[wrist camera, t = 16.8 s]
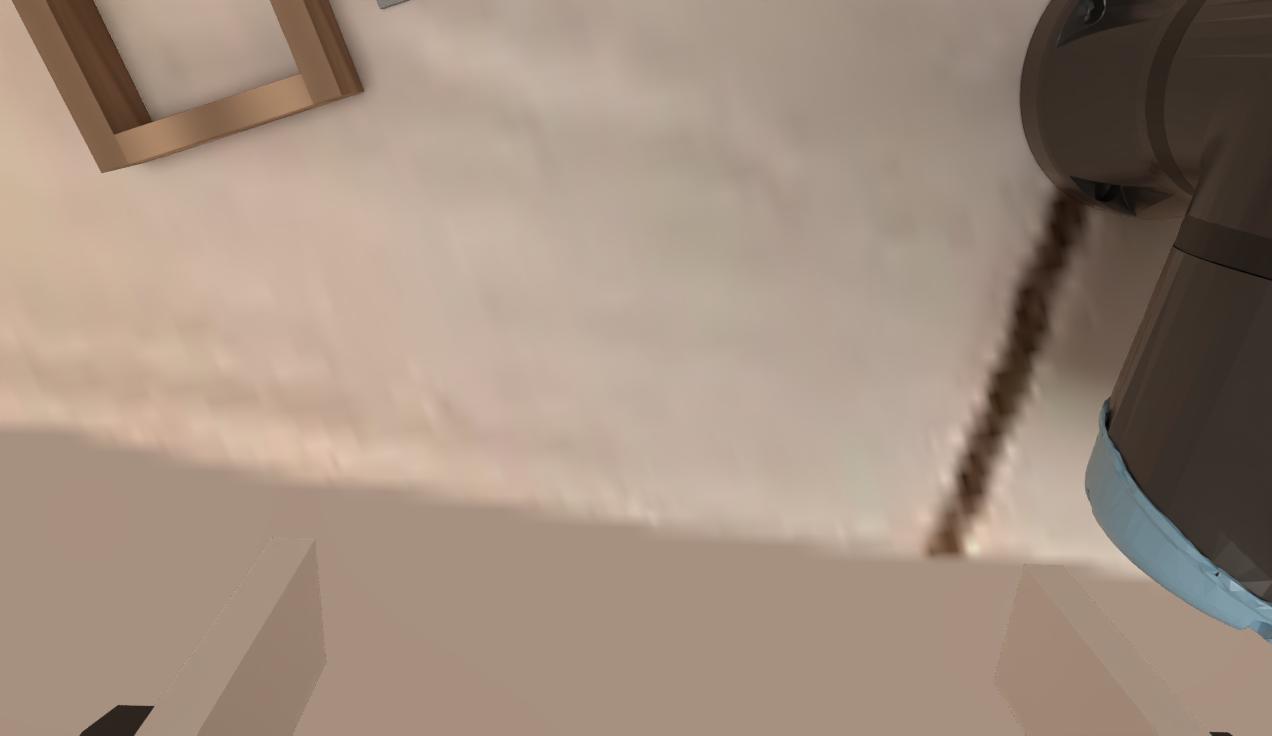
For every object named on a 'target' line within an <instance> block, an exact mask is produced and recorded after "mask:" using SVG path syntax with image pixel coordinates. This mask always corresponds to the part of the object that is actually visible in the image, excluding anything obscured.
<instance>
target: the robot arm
mask: <svg viewBox="0 0 1272 736" xmlns="http://www.w3.org/2000/svg"><path fill="white" fill-rule="evenodd" d="M1021 112H1022V120H1023V126H1024V130H1025V134H1026V137H1027V140H1028V143H1029V146H1030V148H1031V151H1032V153H1033V155H1034V157H1035V159H1036V161H1037V162H1038V164H1039V165H1040V167H1041V168H1042V170H1043V171H1044V173H1045V174H1046V175H1047V176H1048V178H1049V179H1050V180H1051V181H1052V182H1053V183H1054V184H1055V185H1056V186H1057V187H1059V188H1060V189H1061V190H1062V191H1063V192H1065V193H1066V194H1068V195H1069V196H1071V197H1072V198H1074V199H1076V200H1077V201H1080V202H1082V203H1084V204H1086V205H1089V206H1091V207H1094V208H1097V209H1100V210H1103V211H1106V212H1109V213H1113V214H1116V215H1120V216H1125V217H1130V218H1138V219H1166V218H1175V217H1180V216H1185V218H1184V220H1183V223H1182V225H1181V228H1180V230H1179V233H1178V235H1177V238H1176V240H1175V242H1174V244H1173V246H1172V249H1171V251H1170V254H1169V256H1168V258H1167V261H1166V263H1165V266H1164V268H1163V271H1162V273H1161V275H1160V278H1159V280H1158V283H1157V285H1156V288H1155V290H1154V293H1153V295H1152V297H1151V300H1150V302H1149V305H1148V307H1147V310H1146V312H1145V314H1144V317H1143V319H1142V322H1141V324H1140V327H1139V329H1138V331H1137V334H1136V336H1135V339H1134V341H1133V344H1132V346H1131V348H1130V351H1129V353H1128V356H1127V358H1126V361H1125V363H1124V366H1123V368H1122V370H1121V373H1120V375H1119V378H1118V380H1117V383H1116V385H1115V387H1114V390H1113V392H1112V395H1111V396H1110V397H1109V398H1108V399H1107V400H1106V401H1105V402H1104V404H1103V406H1102V409H1101V412H1100V418H1099V427H1100V430H1099V433H1098V436H1097V439H1096V442H1095V445H1094V448H1093V451H1092V454H1091V457H1090V460H1089V463H1088V466H1087V469H1086V474H1085V491H1086V494H1087V497H1088V499H1089V501H1090V504H1091V506H1092V512H1093V515H1094V517H1095V519H1096V520H1097V522H1098V524H1099V525H1100V527H1101V528H1102V529H1103V531H1104V532H1105V534H1106V535H1107V536H1108V538H1109V539H1110V540H1111V541H1112V542H1113V543H1114V545H1115V546H1116V547H1117V548H1118V549H1119V550H1120V551H1121V552H1122V553H1123V554H1124V555H1125V556H1126V557H1127V558H1128V559H1129V560H1130V561H1131V562H1132V563H1134V564H1135V565H1136V566H1137V567H1138V568H1139V569H1141V570H1142V571H1143V572H1144V573H1145V574H1147V575H1148V576H1149V577H1150V578H1152V579H1153V580H1154V581H1156V582H1157V583H1158V584H1160V585H1161V586H1162V587H1164V588H1165V589H1166V590H1168V591H1169V592H1171V593H1173V594H1174V595H1175V596H1177V597H1178V598H1180V599H1181V600H1183V601H1184V602H1186V603H1188V604H1189V605H1191V606H1193V607H1194V608H1196V609H1198V610H1199V611H1201V612H1203V613H1205V614H1207V615H1208V616H1210V617H1212V618H1214V619H1216V620H1218V621H1220V622H1222V623H1224V624H1226V625H1228V626H1231V627H1233V628H1235V629H1237V630H1243V629H1246V628H1248V627H1250V628H1251V629H1252V630H1254V631H1255V632H1257V633H1258V634H1259V635H1260V636H1261V637H1263V638H1264V639H1265V640H1266V641H1268V642H1270V643H1272V0H1052V1H1051V3H1050V4H1049V6H1048V7H1047V9H1046V11H1045V13H1044V14H1043V16H1042V18H1041V20H1040V22H1039V24H1038V26H1037V28H1036V30H1035V33H1034V35H1033V38H1032V40H1031V43H1030V46H1029V49H1028V52H1027V56H1026V60H1025V64H1024V69H1023V75H1022V83H1021ZM325 664H326V653H325V642H324V631H323V619H322V608H321V597H320V586H319V575H318V563H317V552H316V540H315V539H300V538H274V537H273V538H272V539H271V540H270V542H269V543H268V545H267V546H266V547H265V549H264V550H263V552H262V553H261V554H260V556H259V558H258V559H257V560H256V562H255V563H254V565H253V566H252V568H251V569H250V570H249V572H248V573H247V575H246V576H245V577H244V579H243V581H242V582H241V583H240V585H239V586H238V587H237V589H236V590H235V592H234V593H233V595H232V596H231V598H230V599H229V600H228V602H227V603H226V605H225V606H224V608H223V609H222V610H221V612H220V613H219V615H218V616H217V618H216V619H215V621H214V622H213V623H212V625H211V626H210V628H209V629H208V631H207V632H206V633H205V635H204V636H203V638H202V639H201V641H200V642H199V643H198V645H197V646H196V648H195V650H194V651H193V652H192V654H191V655H190V656H189V658H188V659H187V661H186V662H185V664H184V665H183V666H182V668H181V669H180V671H179V672H178V674H177V675H176V676H175V678H174V679H173V681H172V682H171V684H170V685H169V687H168V688H167V689H166V691H165V692H164V694H163V695H162V697H161V698H160V699H159V701H158V702H157V704H156V705H155V706H127V705H118V706H116V707H115V708H114V709H112V710H111V711H110V712H108V713H107V714H106V715H104V716H103V717H102V718H100V719H99V720H97V721H96V722H95V723H94V724H92V725H91V726H89V727H88V728H87V729H85V730H84V731H83V732H82V733H81V734H80V736H292V735H293V732H294V731H295V728H296V726H297V724H298V722H299V720H300V718H301V716H302V713H303V711H304V709H305V707H306V705H307V703H308V701H309V698H310V696H311V694H312V692H313V690H314V688H315V686H316V683H317V681H318V679H319V677H320V675H321V673H322V671H323V668H324V666H325ZM993 682H994V684H995V686H996V687H997V689H998V691H999V692H1000V694H1001V696H1002V697H1003V699H1004V700H1005V702H1006V704H1007V706H1008V707H1009V709H1010V710H1011V712H1012V714H1013V716H1014V717H1015V719H1016V721H1017V722H1018V724H1019V725H1020V727H1021V729H1022V731H1023V732H1024V734H1025V735H1026V736H1232V735H1231V734H1230V733H1227V732H1225V733H1224V732H1208V730H1206V728H1205V727H1204V726H1203V725H1202V724H1201V722H1200V721H1199V720H1198V719H1197V718H1196V717H1195V716H1194V714H1193V713H1192V712H1191V711H1190V710H1189V709H1188V708H1187V706H1186V705H1185V704H1184V703H1183V702H1182V701H1181V700H1180V699H1179V697H1178V696H1177V695H1176V694H1175V693H1174V692H1173V690H1172V689H1171V688H1170V687H1169V686H1168V685H1167V684H1166V682H1165V681H1164V680H1163V679H1162V678H1161V677H1160V676H1159V674H1158V673H1157V672H1156V671H1155V670H1154V669H1153V668H1152V666H1151V665H1150V664H1149V663H1148V662H1147V661H1146V660H1145V659H1144V657H1143V656H1142V655H1141V654H1140V653H1139V652H1138V651H1137V649H1136V648H1135V647H1134V646H1133V645H1132V644H1131V642H1130V641H1129V640H1128V639H1127V638H1126V637H1125V636H1124V634H1123V633H1122V632H1121V631H1120V630H1119V629H1118V628H1117V626H1116V625H1115V624H1114V623H1113V622H1112V621H1111V620H1110V619H1109V617H1108V616H1107V615H1106V614H1105V613H1104V612H1103V610H1101V608H1100V607H1099V606H1098V605H1097V604H1096V602H1095V601H1094V600H1093V599H1092V598H1091V597H1090V596H1089V594H1088V593H1087V592H1086V591H1085V590H1084V589H1083V588H1082V586H1081V585H1080V584H1079V583H1078V582H1077V581H1076V579H1075V578H1074V577H1073V576H1072V575H1071V574H1070V573H1069V571H1068V570H1067V569H1066V568H1065V567H1064V566H1060V565H1032V564H1024V565H1023V569H1022V573H1021V577H1020V581H1019V584H1018V588H1017V592H1016V596H1015V600H1014V603H1013V607H1012V611H1011V615H1010V619H1009V623H1008V626H1007V630H1006V634H1005V638H1004V642H1003V646H1002V650H1001V653H1000V657H999V661H998V665H997V669H996V673H995V676H994V680H993Z"/></svg>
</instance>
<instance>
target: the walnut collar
mask: <svg viewBox="0 0 1272 736" xmlns="http://www.w3.org/2000/svg"><path fill="white" fill-rule="evenodd" d="M12 2H13V4H14V6H15V7H16V9H17V11H18V13H19V15H20V17H21V19H22V21H23V23H24V25H25V27H26V29H27V31H28V32H29V34H30V36H31V38H32V40H33V42H34V44H35V46H36V48H37V50H38V52H39V54H40V55H41V57H42V59H43V61H44V63H45V65H46V67H47V69H48V71H49V73H50V75H51V77H52V79H53V80H54V82H55V84H56V86H57V88H58V90H59V92H60V94H61V96H62V98H63V100H64V102H65V104H66V105H67V107H68V109H69V111H70V113H71V115H72V117H73V119H74V121H75V123H76V125H77V127H78V128H79V130H80V132H81V134H82V136H83V138H84V140H85V142H86V144H87V146H88V148H89V150H90V152H91V153H92V155H93V157H94V159H95V161H96V163H97V165H98V167H99V169H100V171H101V173H104V172H109V171H113V170H117V169H121V168H125V167H129V166H133V165H137V164H142V163H145V162H148V161H151V160H154V159H157V158H161V157H164V156H167V155H170V154H173V153H176V152H179V151H182V150H185V149H188V148H191V147H195V146H198V145H201V144H204V143H207V142H210V141H213V140H216V139H219V138H222V137H225V136H228V135H232V134H235V133H238V132H241V131H244V130H247V129H250V128H253V127H256V126H259V125H262V124H266V123H269V122H272V121H275V120H278V119H281V118H284V117H287V116H290V115H293V114H296V113H299V112H303V111H306V110H309V109H312V108H315V107H318V106H321V105H324V104H327V103H330V102H333V101H337V100H340V99H343V98H346V97H349V96H352V95H355V94H358V93H361V92H364V90H363V87H362V85H361V82H360V79H359V77H358V74H357V72H356V69H355V67H354V64H353V62H352V59H351V57H350V54H349V52H348V49H347V47H346V44H345V42H344V39H343V36H342V34H341V31H340V29H339V26H338V24H337V21H336V19H335V16H334V14H333V11H332V9H331V6H330V4H329V1H328V0H270V2H271V4H272V6H273V9H274V11H275V14H276V16H277V18H278V21H279V23H280V26H281V28H282V30H283V33H284V35H285V37H286V40H287V42H288V45H289V47H290V49H291V52H292V54H293V57H294V59H295V61H296V64H297V66H298V69H299V71H300V73H301V74H298V75H295V76H292V77H289V78H286V79H283V80H280V81H277V82H274V83H270V84H267V85H264V86H261V87H258V88H255V89H252V90H249V91H246V92H243V93H240V94H237V95H234V96H231V97H228V98H225V99H222V100H219V101H216V102H212V103H209V104H206V105H203V106H200V107H197V108H194V109H191V110H188V111H185V112H182V113H179V114H176V115H173V116H170V117H167V118H164V119H161V120H158V121H155V122H152V121H151V119H150V117H149V115H148V113H147V111H146V109H145V107H144V104H143V102H142V100H141V98H140V96H139V94H138V92H137V90H136V88H135V86H134V84H133V82H132V80H131V78H130V76H129V74H128V72H127V70H126V68H125V66H124V64H123V61H122V59H121V57H120V55H119V53H118V51H117V49H116V47H115V45H114V43H113V41H112V39H111V37H110V35H109V33H108V31H107V29H106V27H105V25H104V23H103V21H102V18H101V16H100V14H99V12H98V10H97V8H96V6H95V4H94V2H93V0H12Z"/></svg>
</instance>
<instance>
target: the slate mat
mask: <svg viewBox="0 0 1272 736" xmlns="http://www.w3.org/2000/svg"><path fill="white" fill-rule="evenodd" d="M405 1H408V0H377V3H378V5H379V8H380V9H384V8H387V7H390V6H393V5H396V4H399V3H402V2H405Z"/></svg>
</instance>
